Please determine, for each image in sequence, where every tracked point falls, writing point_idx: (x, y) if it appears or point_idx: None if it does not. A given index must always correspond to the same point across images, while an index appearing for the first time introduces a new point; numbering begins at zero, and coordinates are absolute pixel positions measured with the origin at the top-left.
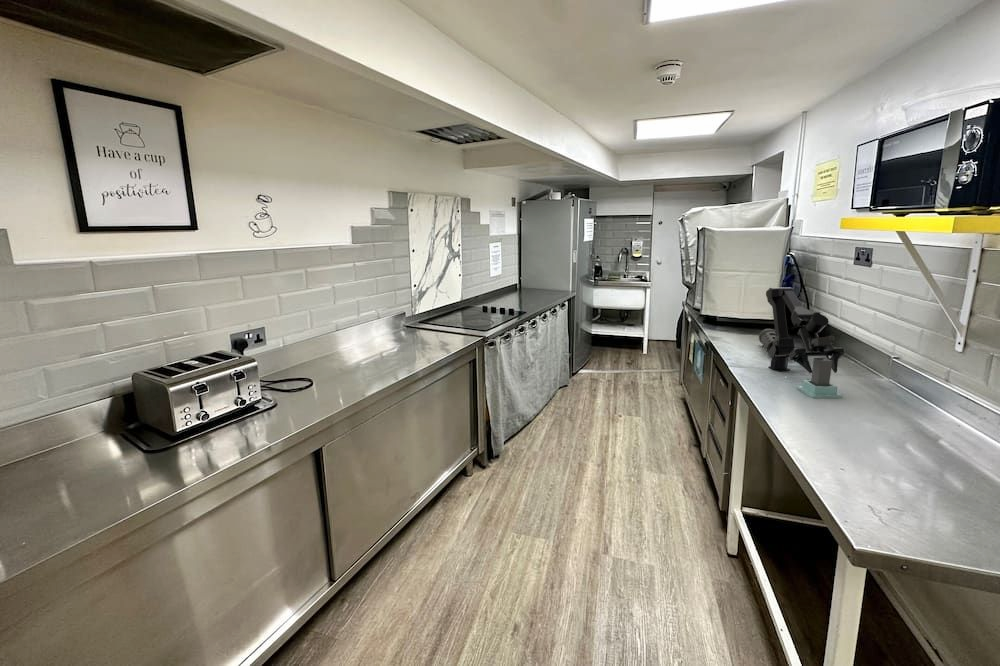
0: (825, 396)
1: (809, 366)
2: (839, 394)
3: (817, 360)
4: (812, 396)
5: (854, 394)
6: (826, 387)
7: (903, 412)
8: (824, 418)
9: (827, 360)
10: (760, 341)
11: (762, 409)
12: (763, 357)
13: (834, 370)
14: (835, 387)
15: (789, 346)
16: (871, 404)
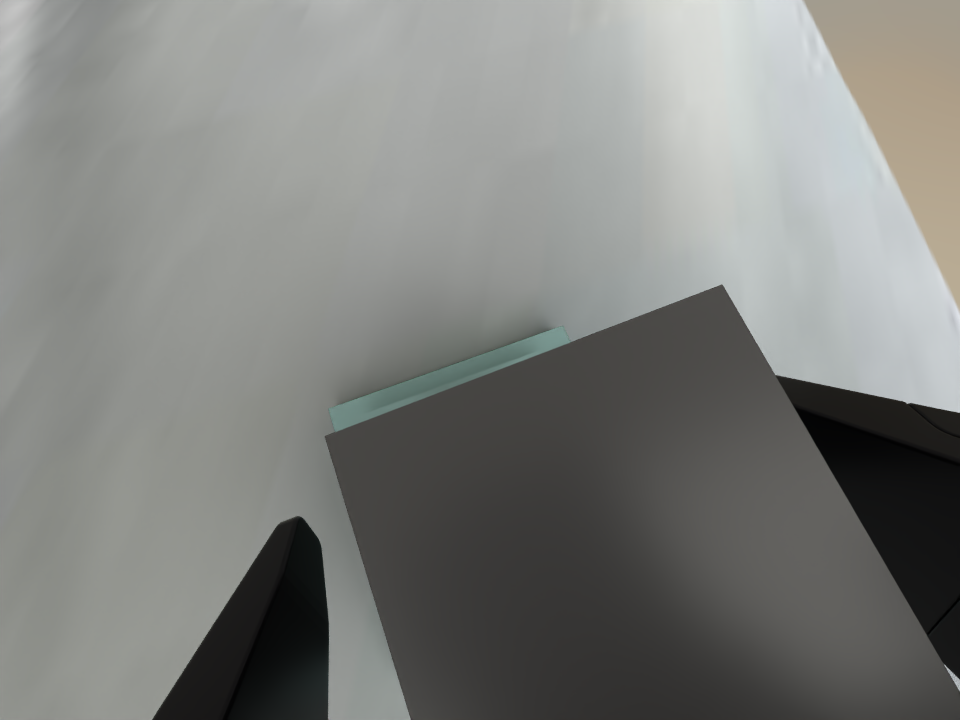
0: (465, 362)
1: (804, 390)
2: (346, 425)
3: (791, 450)
4: (560, 328)
5: (195, 553)
6: (459, 380)
7: (15, 217)
8: (529, 13)
9: (495, 434)
10: None
11: (824, 49)
12: None
13: (309, 565)
14: (371, 413)
15: None
16: (164, 319)
